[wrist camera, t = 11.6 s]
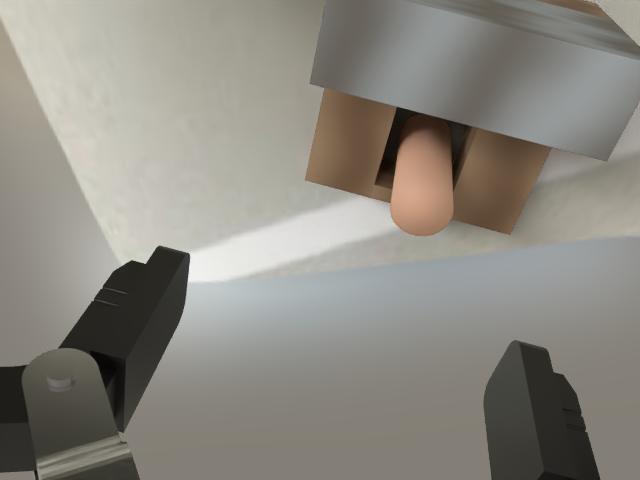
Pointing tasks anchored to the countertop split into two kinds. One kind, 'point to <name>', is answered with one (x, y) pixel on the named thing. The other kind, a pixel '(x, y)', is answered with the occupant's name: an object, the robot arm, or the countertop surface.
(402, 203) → the peg
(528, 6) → the socket station
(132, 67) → the countertop surface
